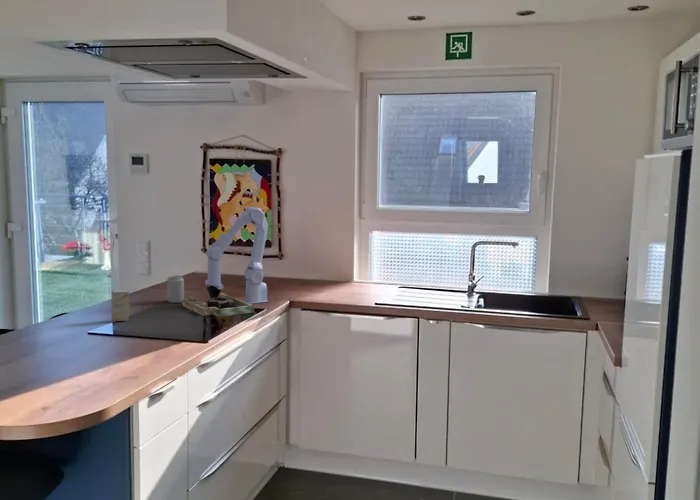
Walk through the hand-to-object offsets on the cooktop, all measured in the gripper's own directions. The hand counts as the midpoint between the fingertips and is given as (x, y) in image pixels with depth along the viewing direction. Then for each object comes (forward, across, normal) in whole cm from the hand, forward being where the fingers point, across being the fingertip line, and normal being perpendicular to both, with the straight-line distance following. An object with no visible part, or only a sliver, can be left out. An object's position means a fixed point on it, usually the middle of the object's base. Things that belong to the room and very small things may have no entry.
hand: (214, 302), depth 285 cm
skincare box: (+1, +9, -44) cm, 45 cm away
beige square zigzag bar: (+1, +7, -2) cm, 7 cm away
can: (+1, -14, -12) cm, 19 cm away
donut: (+1, +7, 0) cm, 7 cm away
